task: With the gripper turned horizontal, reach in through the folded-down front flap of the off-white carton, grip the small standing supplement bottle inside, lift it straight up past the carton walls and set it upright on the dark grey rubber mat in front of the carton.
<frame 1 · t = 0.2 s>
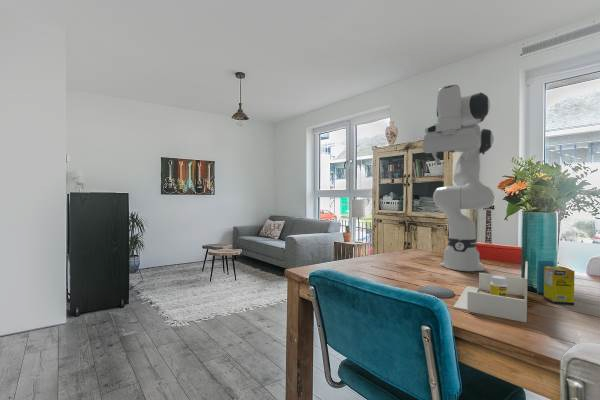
hand: (450, 162, 127), 48 cm above the table, tool pointing down, fingers open, 8 cm apart
supplement box: (558, 302, 106), on the table
rubber mat: (436, 292, 116), on the table
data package: (542, 291, 118), on the table
supplement bottle: (498, 303, 105), resting in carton
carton: (498, 302, 105), on the table
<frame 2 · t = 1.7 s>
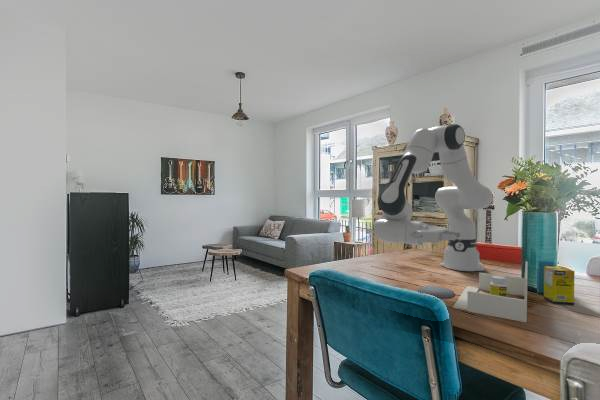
hand: (458, 236, 111), 21 cm above the table, tool horizontal, fingers open, 8 cm apart
nothing on the table moved.
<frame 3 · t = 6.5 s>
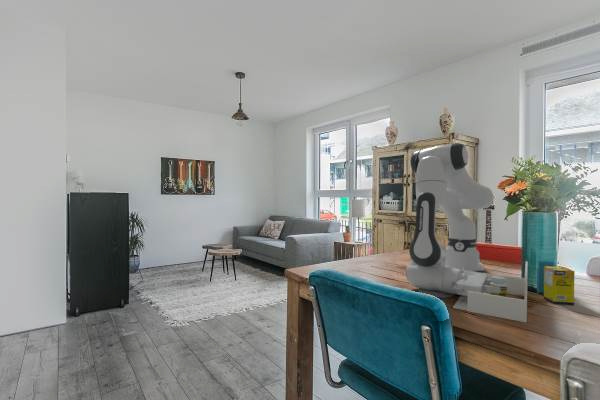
hand: (501, 287, 104), 5 cm above the table, tool horizontal, fingers closed on supplement bottle, 5 cm apart
supplement bottle: (498, 303, 105), resting in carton, touching gripper
everything else where it was.
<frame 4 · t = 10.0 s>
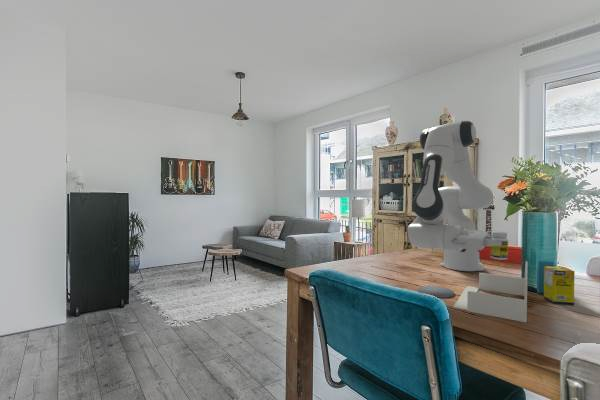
hand: (502, 242, 104), 20 cm above the table, tool horizontal, fingers closed on supplement bottle, 5 cm apart
supplement bottle: (499, 258, 105), point 14 cm above the table, touching gripper
everything else where it was.
when the fingers open (11 cm above the table, at t = 13.4 s): supplement bottle drops 4 cm, resting on rubber mat.
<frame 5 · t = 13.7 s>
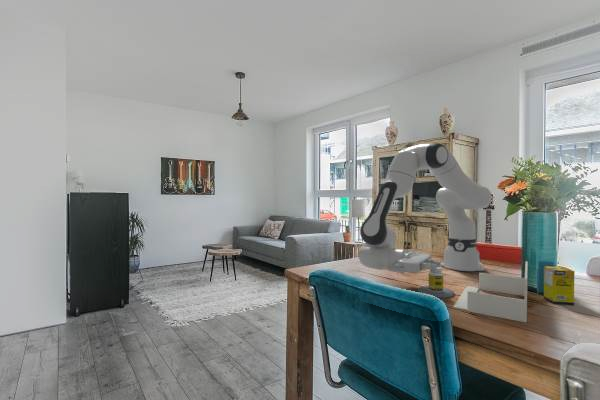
hand: (438, 265, 115), 10 cm above the table, tool horizontal, fingers open, 4 cm apart
supplement bottle: (436, 291, 116), resting on rubber mat
everything else where it was.
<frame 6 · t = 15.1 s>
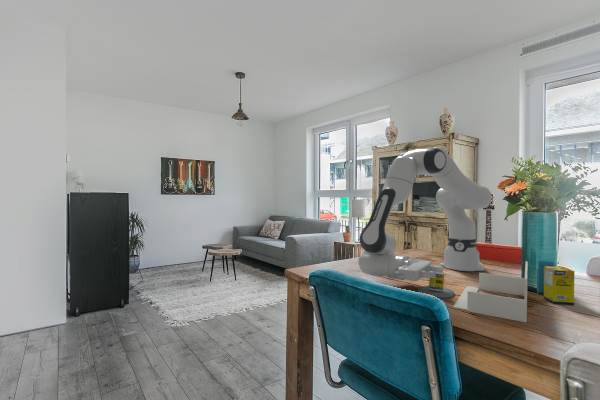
hand: (438, 272, 115), 7 cm above the table, tool horizontal, fingers open, 8 cm apart
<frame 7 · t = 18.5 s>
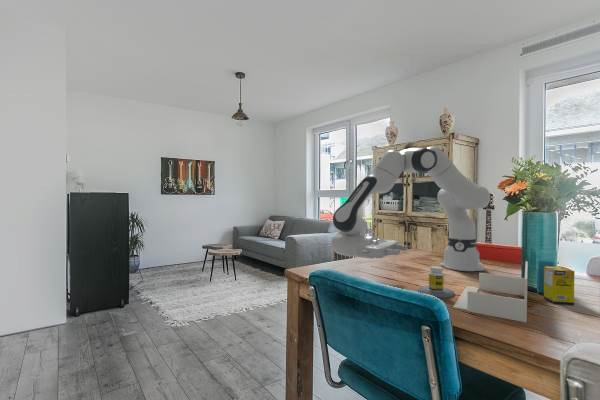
hand: (403, 250, 123), 14 cm above the table, tool horizontal, fingers open, 8 cm apart
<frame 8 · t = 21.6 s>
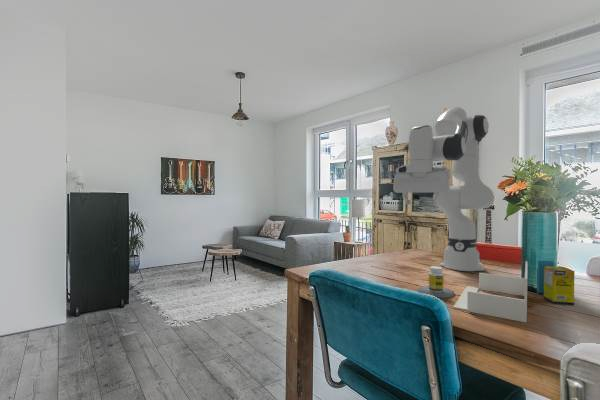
hand: (420, 204, 123), 31 cm above the table, tool pointing down, fingers open, 8 cm apart
nothing on the table moved.
at the end: supplement bottle inside the target area on the rubber mat (0.0 cm from its centre), point 0.4 cm above the rubber mat's base; supplement bottle tilted 1°; the gripper is holding nothing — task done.
